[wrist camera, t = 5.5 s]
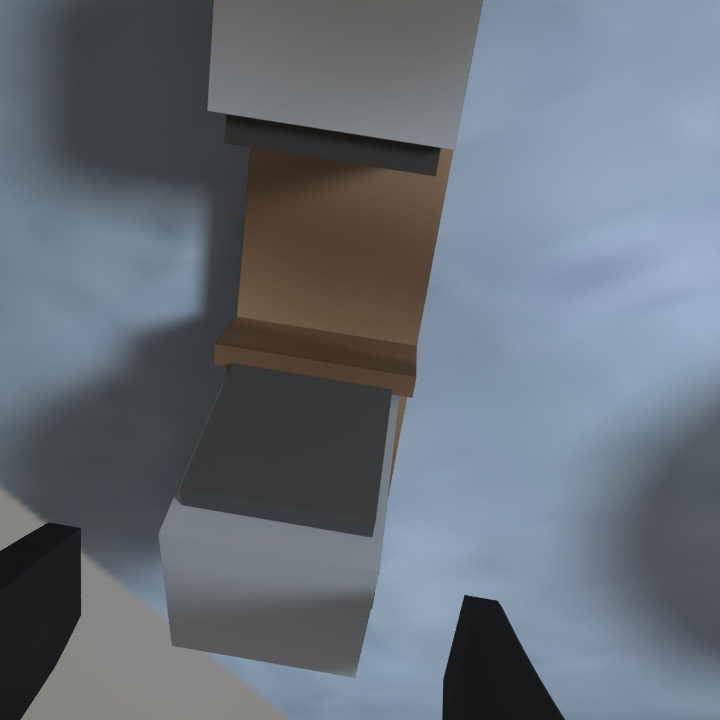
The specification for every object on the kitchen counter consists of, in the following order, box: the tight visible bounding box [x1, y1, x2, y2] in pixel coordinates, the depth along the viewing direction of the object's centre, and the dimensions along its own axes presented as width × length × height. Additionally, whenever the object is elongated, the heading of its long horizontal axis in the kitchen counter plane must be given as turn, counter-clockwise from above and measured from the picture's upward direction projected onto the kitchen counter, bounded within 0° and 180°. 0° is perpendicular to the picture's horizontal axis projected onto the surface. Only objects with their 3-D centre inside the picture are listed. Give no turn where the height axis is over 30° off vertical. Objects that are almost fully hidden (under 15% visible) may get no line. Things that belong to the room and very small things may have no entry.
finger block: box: [158, 363, 399, 678], centre depth 15 cm, size 4×4×5 cm
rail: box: [207, 0, 483, 609], centre depth 15 cm, size 16×4×6 cm, turn 172°
